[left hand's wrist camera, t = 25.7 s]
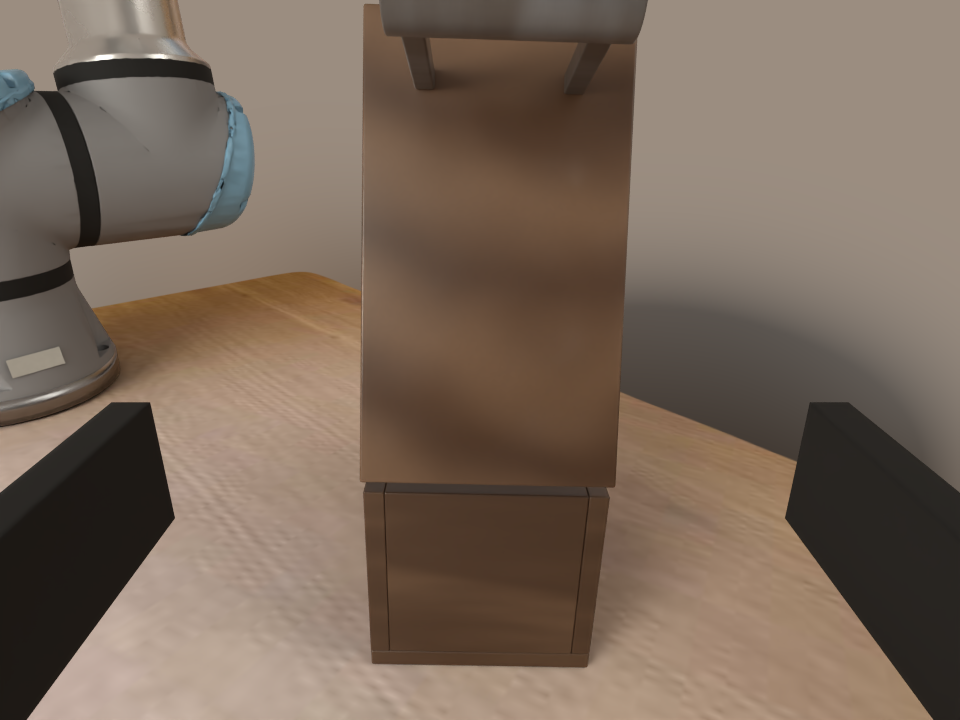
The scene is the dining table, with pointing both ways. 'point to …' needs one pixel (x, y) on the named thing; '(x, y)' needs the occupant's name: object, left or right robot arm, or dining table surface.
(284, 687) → the dining table surface
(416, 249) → the lid
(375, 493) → the chest
